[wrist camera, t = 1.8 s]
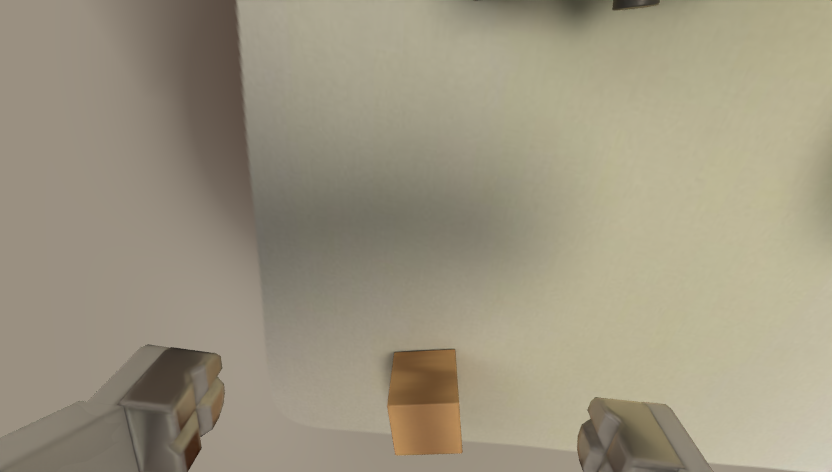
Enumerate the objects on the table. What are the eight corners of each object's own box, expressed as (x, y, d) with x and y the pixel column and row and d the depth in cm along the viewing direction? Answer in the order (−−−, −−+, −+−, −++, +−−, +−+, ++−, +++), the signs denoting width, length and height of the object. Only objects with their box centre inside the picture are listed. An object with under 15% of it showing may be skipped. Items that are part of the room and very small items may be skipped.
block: (400, 397, 32) (395, 456, 27) (394, 351, 30) (386, 406, 25) (458, 395, 32) (462, 454, 27) (455, 348, 30) (458, 403, 25)
